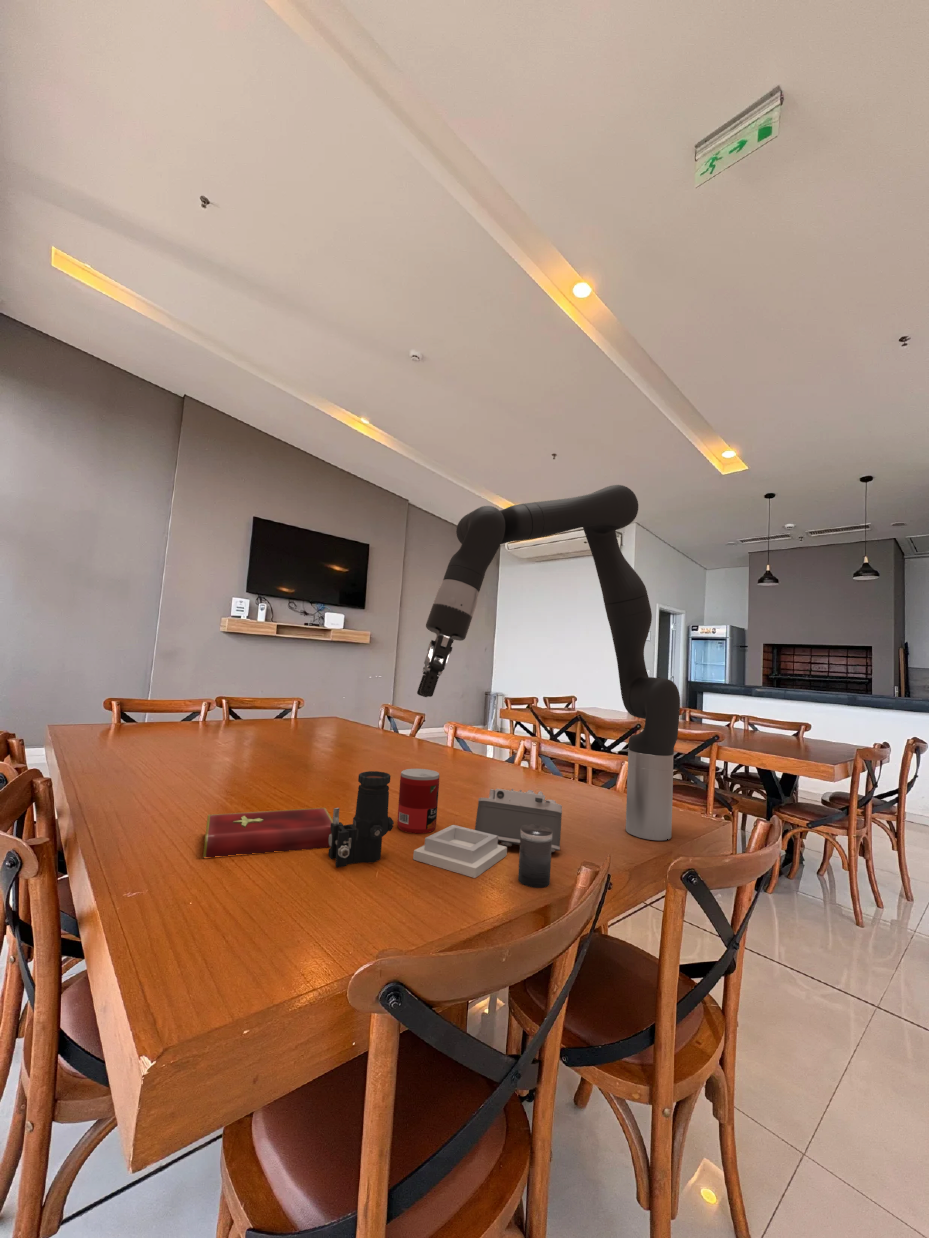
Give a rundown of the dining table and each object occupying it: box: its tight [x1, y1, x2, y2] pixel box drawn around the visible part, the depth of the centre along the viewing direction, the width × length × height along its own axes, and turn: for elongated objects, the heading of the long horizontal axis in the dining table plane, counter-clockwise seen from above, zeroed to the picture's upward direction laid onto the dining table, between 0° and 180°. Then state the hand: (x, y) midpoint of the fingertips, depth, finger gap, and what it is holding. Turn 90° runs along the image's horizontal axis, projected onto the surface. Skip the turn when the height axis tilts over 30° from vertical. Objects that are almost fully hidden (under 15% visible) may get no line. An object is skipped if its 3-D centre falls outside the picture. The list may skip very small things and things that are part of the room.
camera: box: [474, 788, 563, 853], centre depth 99 cm, size 9×16×10 cm, turn 85°
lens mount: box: [412, 824, 508, 879], centre depth 89 cm, size 12×12×4 cm
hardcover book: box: [202, 807, 333, 858], centre depth 91 cm, size 12×21×4 cm, turn 115°
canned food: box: [396, 768, 440, 835], centre depth 104 cm, size 8×8×11 cm
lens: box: [517, 824, 552, 889], centre depth 81 cm, size 5×5×8 cm
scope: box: [327, 770, 394, 868], centre depth 86 cm, size 8×14×10 cm
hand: (423, 695), depth 89 cm, fingers open, 8 cm apart
